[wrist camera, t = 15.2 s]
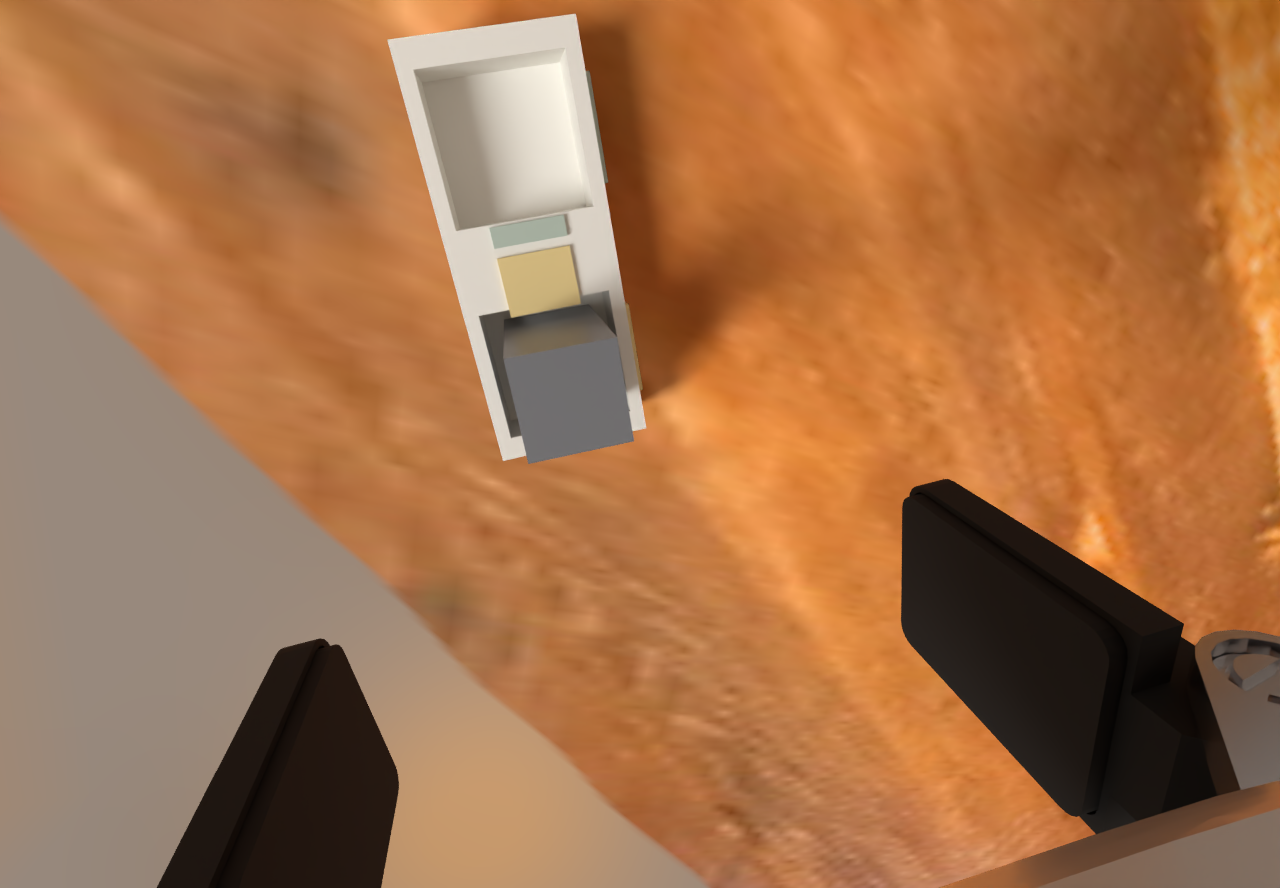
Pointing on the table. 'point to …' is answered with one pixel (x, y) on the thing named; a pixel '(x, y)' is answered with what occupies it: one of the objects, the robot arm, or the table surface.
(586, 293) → the socket block
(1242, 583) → the table surface
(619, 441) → the plug
